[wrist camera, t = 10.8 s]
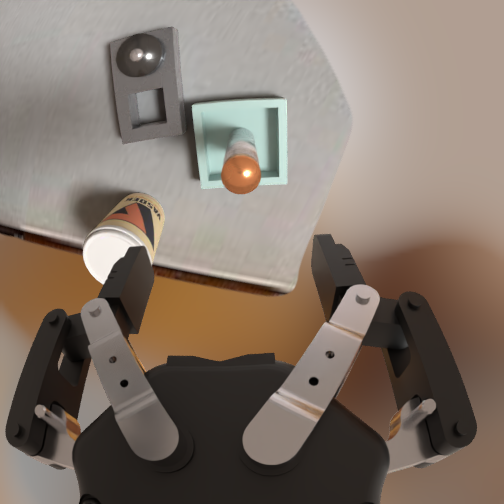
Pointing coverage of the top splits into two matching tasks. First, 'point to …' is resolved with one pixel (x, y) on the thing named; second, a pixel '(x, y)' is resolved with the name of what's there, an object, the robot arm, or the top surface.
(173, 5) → the top surface
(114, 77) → the block
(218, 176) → the tray
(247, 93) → the top surface
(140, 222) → the coffee cup
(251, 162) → the pin
